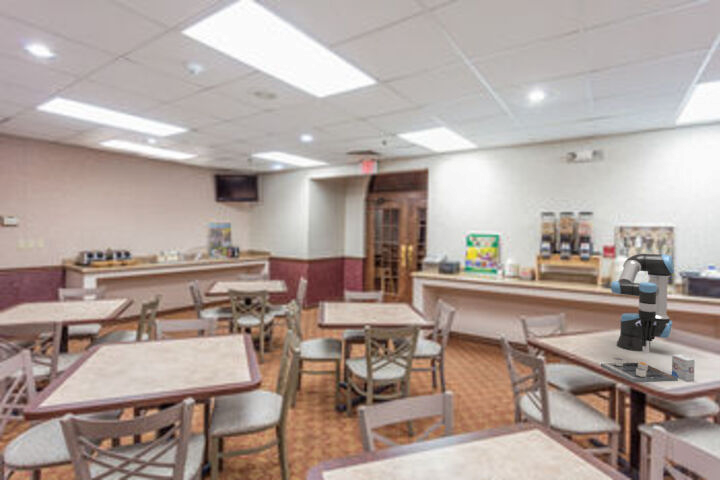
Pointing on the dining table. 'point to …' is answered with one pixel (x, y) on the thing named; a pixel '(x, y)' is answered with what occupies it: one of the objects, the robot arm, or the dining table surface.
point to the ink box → (683, 367)
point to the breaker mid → (643, 365)
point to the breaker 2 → (641, 372)
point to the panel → (630, 374)
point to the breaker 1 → (618, 362)
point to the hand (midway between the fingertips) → (645, 351)
